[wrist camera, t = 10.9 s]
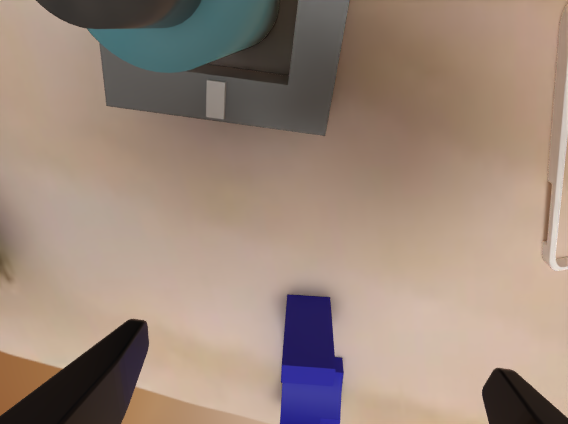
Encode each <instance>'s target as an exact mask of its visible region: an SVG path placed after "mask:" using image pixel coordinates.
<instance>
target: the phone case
mask: <svg viewBox="0 0 568 424" xmlns="http://www.w3.org/2000/svg"><path fill="white" fill-rule="evenodd" d="M567 136H568V4H567V5H566V7H565V9H564V11H563V13H562V16H561V20H560V25H559V36H558V49H557V61H556V74H555V87H554V100H553V113H552V126H551V139H550V151H549V164H548V177H547V181H549V182H550V183H552V191H551V202H550V214H549V226H548V237H547V241H542V257H543V260H544V261H545V262H546V263H547V264H548V265H549V266H550V267H551V268H552V269H553V270H554V271H561V270H567V269H568V257H563V258H557V259H556V246H557V236H558V226H559V216H560V206H561V196H562V186H563V176H564V166H565V156H566V146H567Z"/></svg>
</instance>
